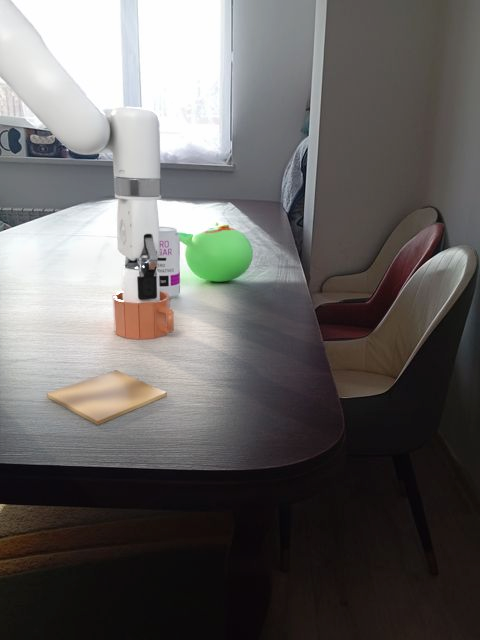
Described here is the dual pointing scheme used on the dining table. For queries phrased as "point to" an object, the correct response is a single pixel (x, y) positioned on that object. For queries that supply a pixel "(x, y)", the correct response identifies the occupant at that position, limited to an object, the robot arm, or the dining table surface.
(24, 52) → the robot arm
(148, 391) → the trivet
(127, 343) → the dining table surface
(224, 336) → the dining table surface
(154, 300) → the can
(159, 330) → the mug
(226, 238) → the green teapot
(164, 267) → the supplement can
